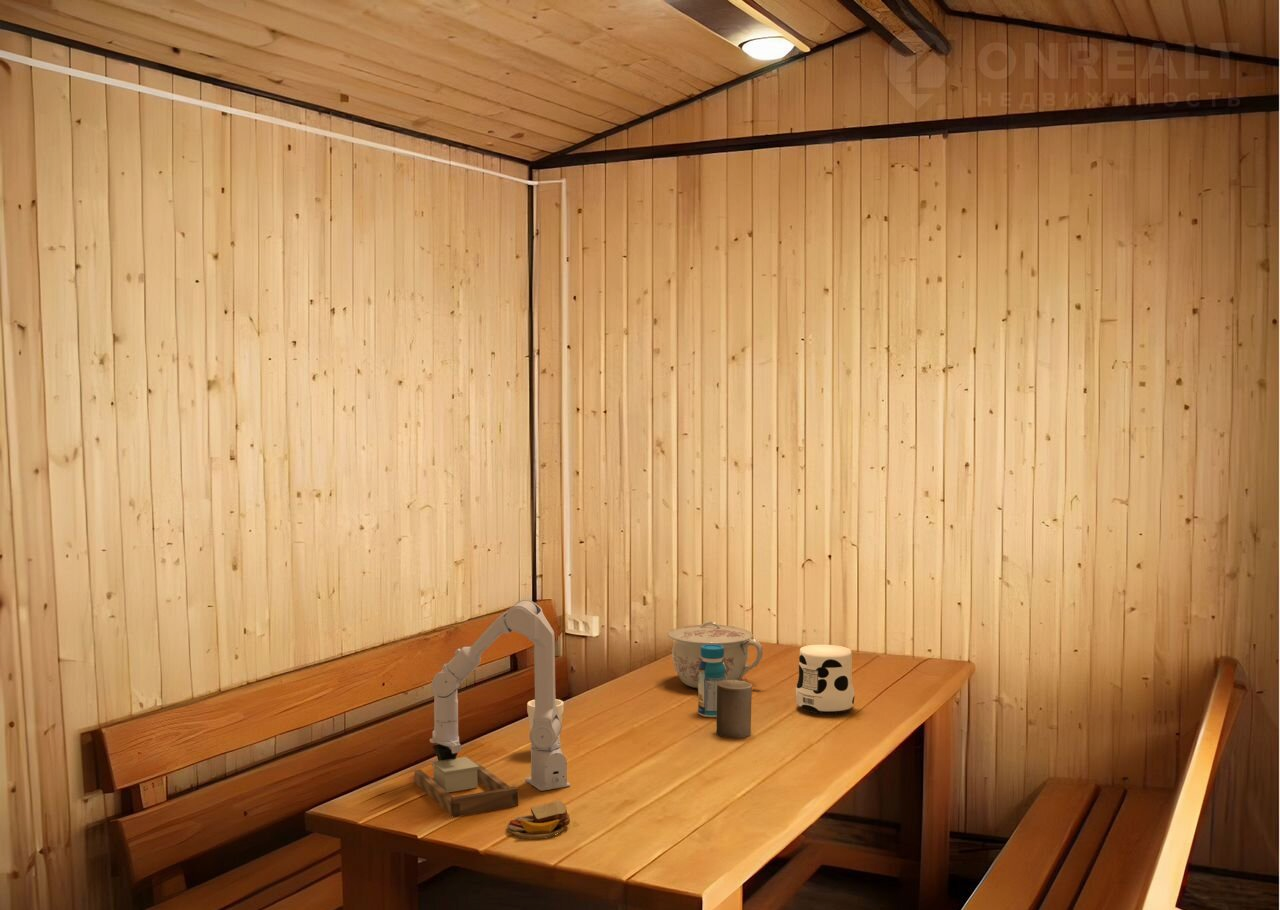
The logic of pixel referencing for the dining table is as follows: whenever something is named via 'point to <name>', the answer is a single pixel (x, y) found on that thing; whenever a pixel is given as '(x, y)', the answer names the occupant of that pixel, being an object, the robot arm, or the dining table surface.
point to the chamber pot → (729, 637)
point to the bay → (471, 803)
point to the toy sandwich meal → (541, 821)
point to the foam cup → (532, 709)
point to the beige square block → (455, 774)
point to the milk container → (825, 679)
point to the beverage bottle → (710, 678)
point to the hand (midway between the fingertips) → (446, 774)
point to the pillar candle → (734, 708)
